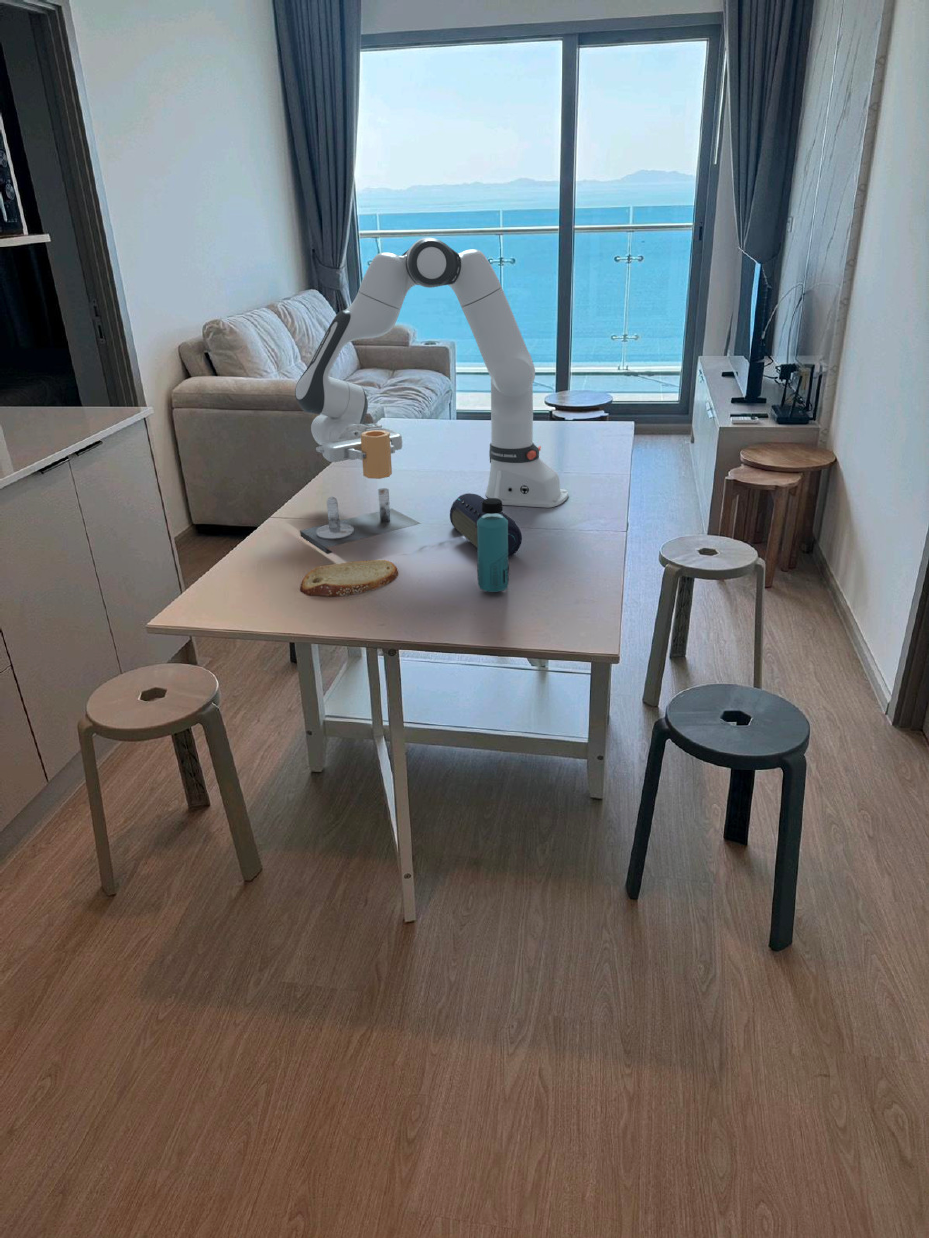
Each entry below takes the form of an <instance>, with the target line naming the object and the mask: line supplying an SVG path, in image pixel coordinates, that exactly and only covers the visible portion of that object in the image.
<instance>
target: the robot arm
mask: <svg viewBox="0 0 929 1238" xmlns="http://www.w3.org/2000/svg"><path fill="white" fill-rule="evenodd" d="M489 261H490V260H488V259H487V257H486V255H485V254H484V253H483V252H482V251H481V250H479V249H475V248H473V249H472V248H471V249H470V248H469V249H466V250H463V251H461V252H457V251H455V249H453V248H451V247H450V246H449V245H448V244H446V243H445V241H444V242H443V241H442V240H441V239H438V238H435V237H422V238H420V239H418V240H416V241H415V242H414V243H413V244H412V245H411V246H410V248H409V249H407V250H406V251H405V252H404V253H402V254H401V255H399V254H396V253H393V252H389V251H388V252H380V253H379V252H378V253H377V254H376V255H375V256H374V257H373V258H372V260H371V262H370V264H369V265H368V267H367V269H366V271H365V274H364V275H363V279H362V280H361V283H360V286H359V289H358V292H357V294H356V295H355V298H354V299H353V301H352V303H351V304H350V305H349V306H348V307H347V308H346V309H344V310H340V311H338V313H337V314H336V315H335V316H334V318H333V319H332V321H331V323H330V324H329V326H328V328H327V329H326V331H325V333H324V335H323V337H322V339H321V341H320V343H319V345H318V347H317V348H316V351H315V353H314V354H313V357H312V359H311V361H310V362H309V364H308V366H307V368H306V369H305V370H304V372H303V373H302V374H301V376H300V377H299V379H298V381H297V383H296V385H295V390H294V398H295V400H296V402H297V404H298V405H299V407H300V408H301V409H302V411H303V412H305V413H308V414H312V415H313V414H314V415H317V416H316V417H315V418H314V419H313V420H312V423H311V425H310V430H311V431H310V432H311V435H312V437H313V439H314V440H315V442H316V443H317V444H318V446H316V447H315V450H316V452H318V453H319V454H320V453H321V454H322V457H323V458H324V459H326V460H327V461H328V462H329V463H330V462H331V463H338V462H343V461H348V460H350V461H353V460H354V461H355V460H361V461H362V459H366V452H365V451H363V450H362V448H361V434H362V433H363V432H366V431H372V430H383V431H386V432H389V433H390V447H391V455H392V454H395V453H396V451H399V450H401V449H402V448H403V436H402V435H401V434H400V433H399V432H397V431H395V430H393V429H390V428H386V427H383V425H382V424H380V423H364V421H365V419H366V417H367V412H368V408H369V402H368V398H367V394H366V391H365V390H364V388H363V387H362V385H360V384H356V383H352V382H350V381H347V380H342V379H338V378H335V377H332V376H329V375H330V372H331V370H332V369H333V366H334V364H335V363H336V361H337V359H338V357H339V355H340V353H341V351H342V350H343V348H344V347H345V346H346V345H347V344H349V343H351V342H352V341H357V340H363V339H365V340H366V339H376V338H379V337H382V336H385V335H386V334H388V333H389V332H391V331H392V329H393V328H394V327H395V325H396V323H397V321H398V318H399V316H400V312H401V309H402V306H403V304H404V300H405V299H406V297H407V294H408V292H409V291H410V290H411V289H412V288H413V287H415V286H421V287H424V288H427V289H428V288H429V289H430V288H431V289H433V288H438V287H442V286H449V287H450V288H451V289H452V291H453V292H454V294H455V295H456V298H457V300H458V303H459V305H460V307H461V309H462V312H463V315H464V316H465V319H466V321H467V323H468V326H469V327H470V330H471V332H472V334H473V336H474V340H475V342H476V344H477V347H478V349H479V352H480V355H481V357H482V359H483V361H484V364H485V367H486V369H487V372H488V375H489V377H490V413H491V414H490V415H491V416H490V417H491V419H490V422H491V423H490V425H491V427H490V429H491V430H490V436H491V439H490V440H491V441H490V444H489V453H488V455H489V464H490V468H489V469H490V470H489V478H488V484H487V488H486V491H485V496H486V497H487V499H488V498H497V499H500V500H501V501H502V506H515V507H517V506H519V507H533V508H547V509H549V508H554V507H556V506H559V505H561V504H562V503H564V502H565V501H566V500H567V499H568V498H569V492H568V490H567V489H564V488H561V484H560V477H559V474H558V472H557V471H556V470H554V469H553V468H552V467H550V466H549V465H548V464H547V463H546V462H544V460H542V459H541V458H540V451H542V449H541V448H542V446H541V445H539V446H537V445H536V444H535V443H534V442H533V440H534V439H533V435H534V434H533V433H534V432H533V429H534V401H533V400H534V399H533V397H534V395H533V394H534V393H533V384H534V382H535V377H536V368H535V364H534V362H533V358H532V355H531V353H530V352H529V350H528V347H527V345H526V343H525V341H524V338H523V336H522V333H521V330H520V328H519V326H518V323H517V320H516V318H515V315H514V313H513V311H512V308H511V306H510V303H509V300H508V298H507V296H506V294H505V292H504V291H505V290H504V289H503V287H502V285H501V282H500V279H499V278H498V275H497V274H496V272H495V270H494V268H493V267H492V264H491V263H490V262H489Z"/></svg>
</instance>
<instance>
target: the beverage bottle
mask: <svg viewBox="0 0 929 1238" xmlns="http://www.w3.org/2000/svg"><path fill="white" fill-rule="evenodd" d="M484 499H485V500H483V502H482V512H484V513H488V514H485V515H483V516H482V517H481V518H480V519H479V520H478V521H477V539H478V547H476V548H477V553H476V556H477V557H476V558H477V566H476V567H477V569H476V571H477V584H478V587H479V589H481V590H483V591H485V592H489V593H491V592H492V593H496V592H501V591H504V590H506V589H508V586H509V582H510V578H509V572H510V569H509V568H510V565H509V563H510V561H509V557H508V548H509V547H508V520H507V519H506V518H505V517H504V516H502V515H500V514H496V513H500V512H503V505H502V501H501V500H500V499H497V498H488V497H487V498H484Z"/></svg>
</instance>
